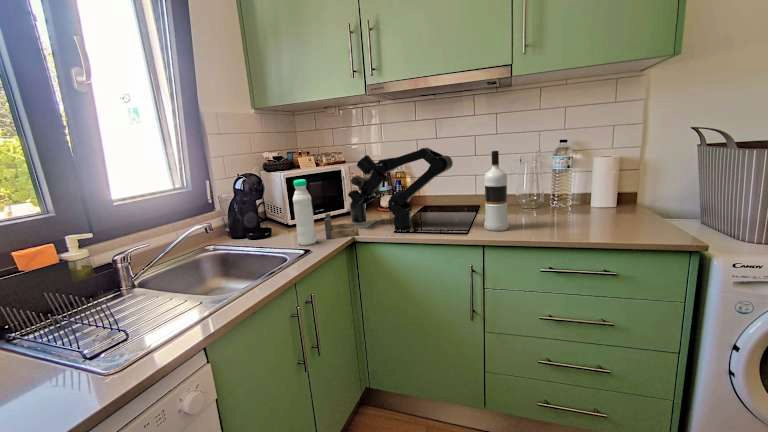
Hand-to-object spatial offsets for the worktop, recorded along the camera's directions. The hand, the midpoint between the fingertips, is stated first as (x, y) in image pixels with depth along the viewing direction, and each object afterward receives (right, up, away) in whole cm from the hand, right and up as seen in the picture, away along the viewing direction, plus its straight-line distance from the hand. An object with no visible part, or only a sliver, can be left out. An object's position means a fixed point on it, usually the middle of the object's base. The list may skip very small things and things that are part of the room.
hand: (355, 207), depth 169 cm
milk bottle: (-17, -15, -23) cm, 32 cm away
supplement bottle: (+2, -7, +1) cm, 7 cm away
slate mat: (+2, -8, +1) cm, 8 cm away
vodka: (+57, -9, -24) cm, 62 cm away
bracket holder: (-5, -11, -12) cm, 17 cm away
